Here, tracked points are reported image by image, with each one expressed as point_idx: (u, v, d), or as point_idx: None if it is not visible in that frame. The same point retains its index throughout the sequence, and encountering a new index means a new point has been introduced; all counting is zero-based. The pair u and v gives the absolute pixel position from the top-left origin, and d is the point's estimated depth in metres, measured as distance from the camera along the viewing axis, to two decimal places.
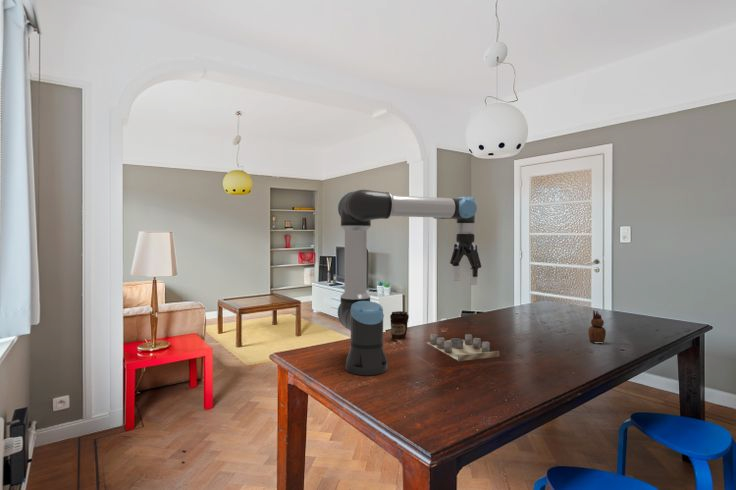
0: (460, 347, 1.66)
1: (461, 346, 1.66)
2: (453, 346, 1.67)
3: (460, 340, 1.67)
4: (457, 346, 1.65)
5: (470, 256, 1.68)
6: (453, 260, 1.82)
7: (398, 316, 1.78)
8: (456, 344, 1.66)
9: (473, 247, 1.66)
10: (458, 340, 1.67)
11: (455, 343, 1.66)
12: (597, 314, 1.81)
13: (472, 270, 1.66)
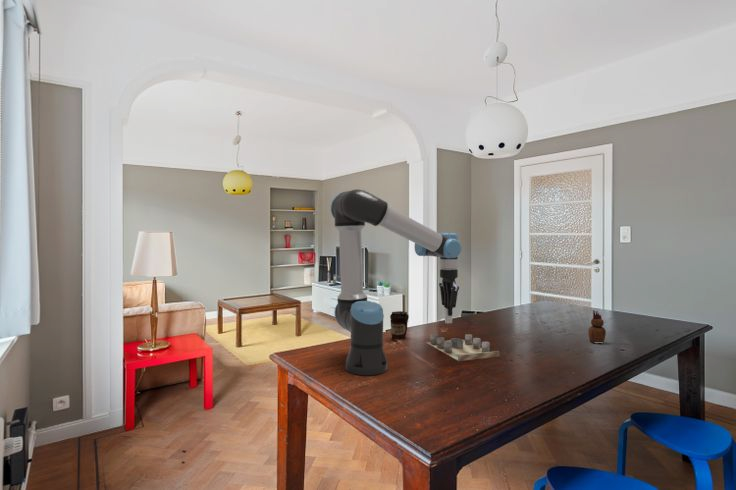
0: (460, 347, 1.66)
1: (461, 346, 1.66)
2: (453, 346, 1.67)
3: (460, 340, 1.67)
4: (457, 346, 1.65)
5: (450, 295, 1.73)
6: None
7: (398, 316, 1.78)
8: (456, 344, 1.66)
9: (455, 289, 1.69)
10: (458, 340, 1.67)
11: (455, 343, 1.66)
12: (597, 314, 1.81)
13: (447, 309, 1.74)
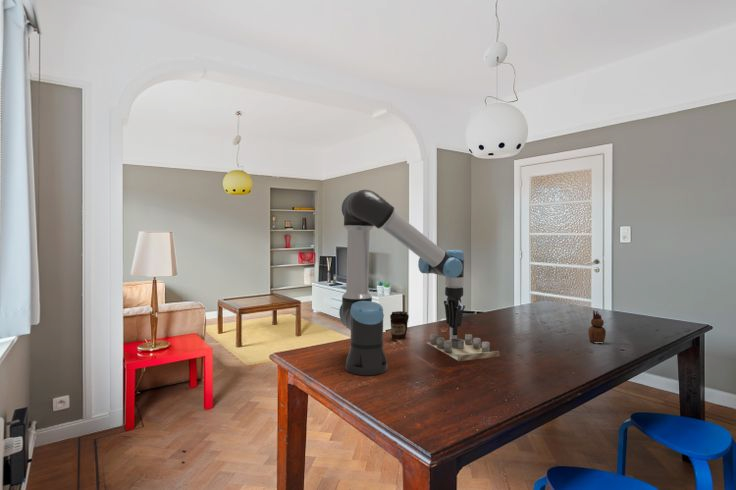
0: (461, 347, 1.66)
1: (462, 346, 1.66)
2: (454, 346, 1.66)
3: (461, 340, 1.67)
4: (458, 346, 1.65)
5: (455, 313, 1.68)
6: None
7: (398, 316, 1.78)
8: (457, 344, 1.65)
9: (460, 308, 1.65)
10: (459, 340, 1.67)
11: (456, 343, 1.65)
12: (597, 314, 1.81)
13: (452, 328, 1.70)
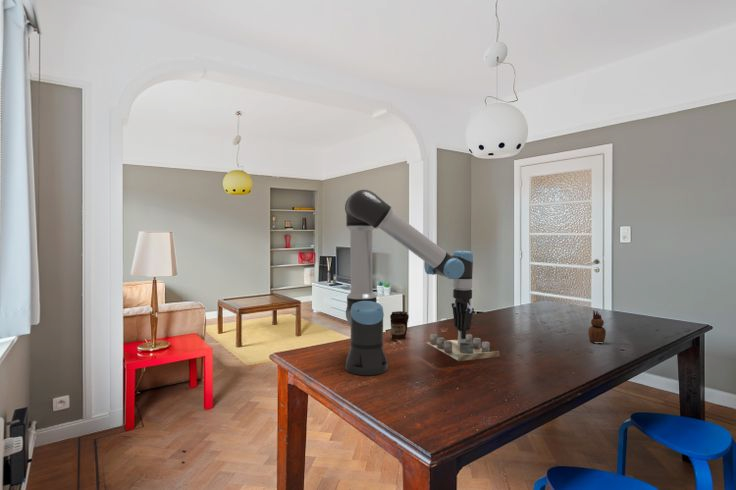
0: (470, 352, 1.60)
1: (471, 351, 1.60)
2: (463, 351, 1.60)
3: (470, 344, 1.61)
4: (467, 351, 1.59)
5: (463, 317, 1.62)
6: None
7: (398, 316, 1.78)
8: (466, 349, 1.59)
9: (469, 311, 1.58)
10: (468, 344, 1.61)
11: (465, 348, 1.59)
12: (597, 314, 1.81)
13: (460, 332, 1.64)
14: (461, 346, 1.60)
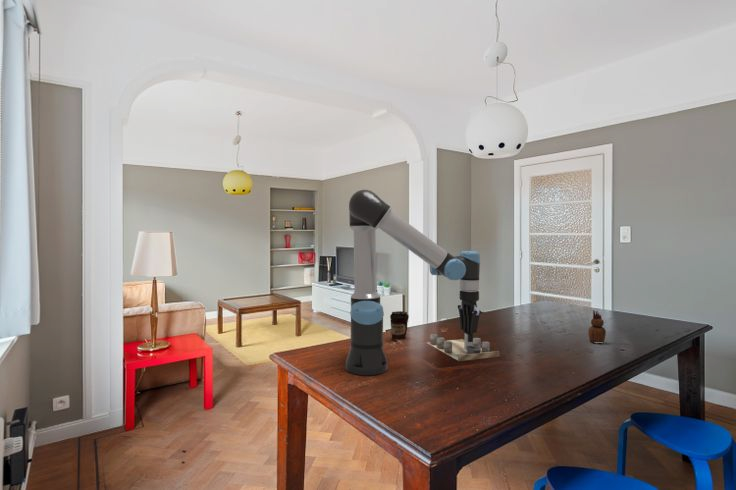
0: None
1: None
2: None
3: (477, 348, 1.57)
4: None
5: (470, 319, 1.58)
6: None
7: (398, 316, 1.78)
8: (473, 352, 1.55)
9: (476, 314, 1.54)
10: (475, 348, 1.56)
11: (472, 351, 1.55)
12: (597, 314, 1.81)
13: (467, 335, 1.59)
14: (468, 349, 1.56)
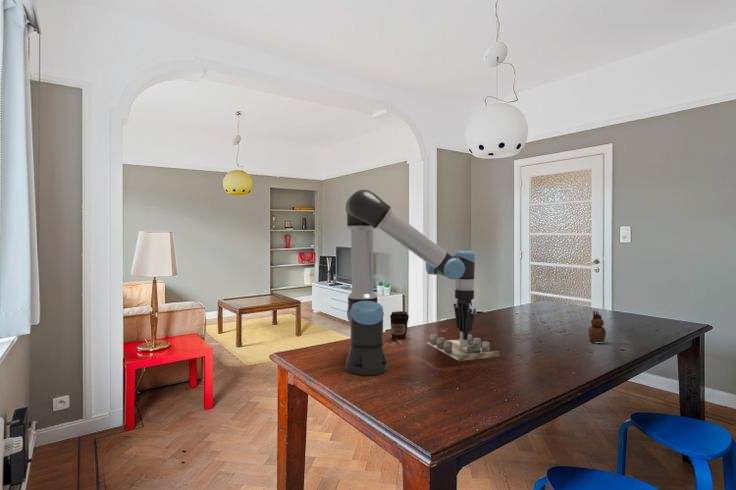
0: None
1: None
2: None
3: (477, 348, 1.57)
4: None
5: (465, 317, 1.61)
6: None
7: (398, 316, 1.78)
8: (473, 352, 1.55)
9: (471, 312, 1.57)
10: (475, 348, 1.56)
11: (472, 351, 1.55)
12: (597, 314, 1.81)
13: (462, 333, 1.62)
14: (468, 349, 1.56)
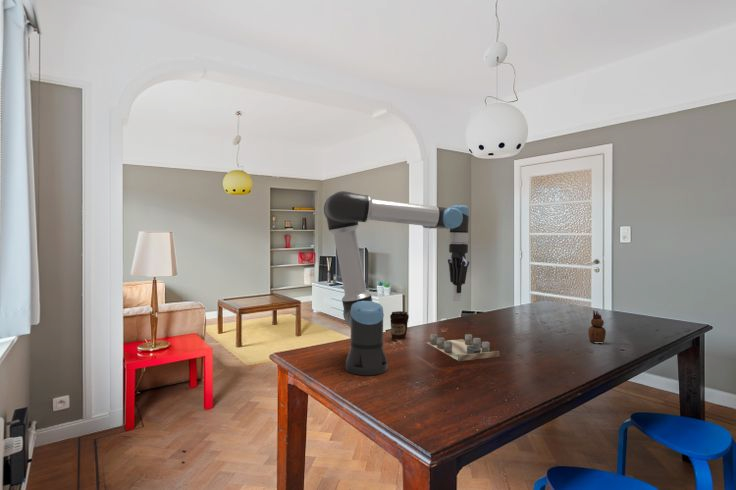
0: None
1: None
2: None
3: (477, 348, 1.57)
4: None
5: (459, 271, 1.64)
6: None
7: (398, 316, 1.78)
8: (473, 352, 1.55)
9: (464, 264, 1.60)
10: (475, 348, 1.56)
11: (472, 351, 1.55)
12: (597, 314, 1.81)
13: (456, 286, 1.65)
14: (468, 349, 1.56)
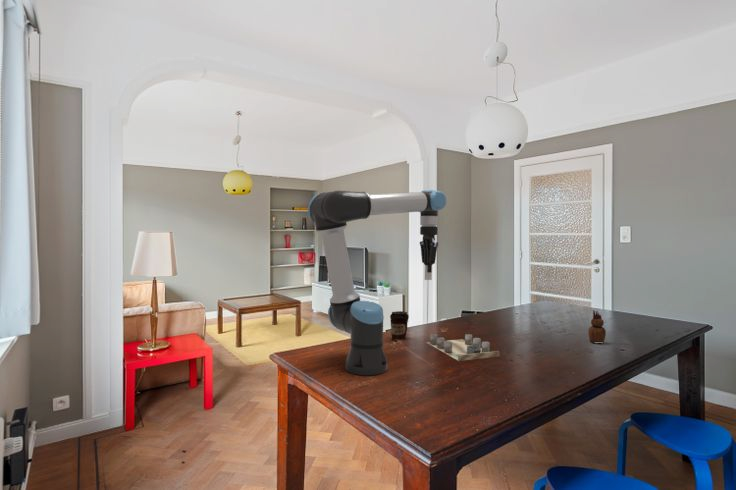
0: None
1: None
2: None
3: (477, 348, 1.57)
4: None
5: (429, 251, 1.75)
6: None
7: (398, 316, 1.78)
8: (473, 352, 1.55)
9: (434, 245, 1.71)
10: (475, 348, 1.56)
11: (472, 351, 1.55)
12: (597, 314, 1.81)
13: (427, 266, 1.76)
14: (468, 349, 1.56)
